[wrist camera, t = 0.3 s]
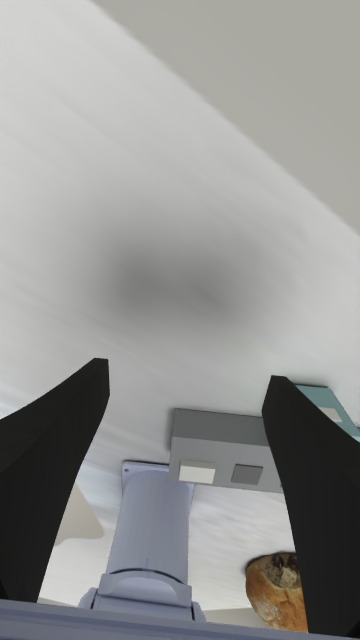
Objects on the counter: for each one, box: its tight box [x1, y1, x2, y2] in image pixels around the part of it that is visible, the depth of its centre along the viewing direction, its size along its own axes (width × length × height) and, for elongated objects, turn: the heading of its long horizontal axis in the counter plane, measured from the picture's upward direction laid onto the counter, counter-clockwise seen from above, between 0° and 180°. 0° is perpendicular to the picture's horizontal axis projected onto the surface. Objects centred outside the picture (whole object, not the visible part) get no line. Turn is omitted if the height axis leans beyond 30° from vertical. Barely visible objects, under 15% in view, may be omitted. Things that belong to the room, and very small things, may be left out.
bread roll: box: [246, 553, 308, 633], centre depth 36 cm, size 10×10×8 cm
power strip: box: [168, 409, 360, 494], centre depth 25 cm, size 6×28×4 cm, turn 85°
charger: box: [295, 385, 360, 442], centre depth 22 cm, size 6×4×5 cm
